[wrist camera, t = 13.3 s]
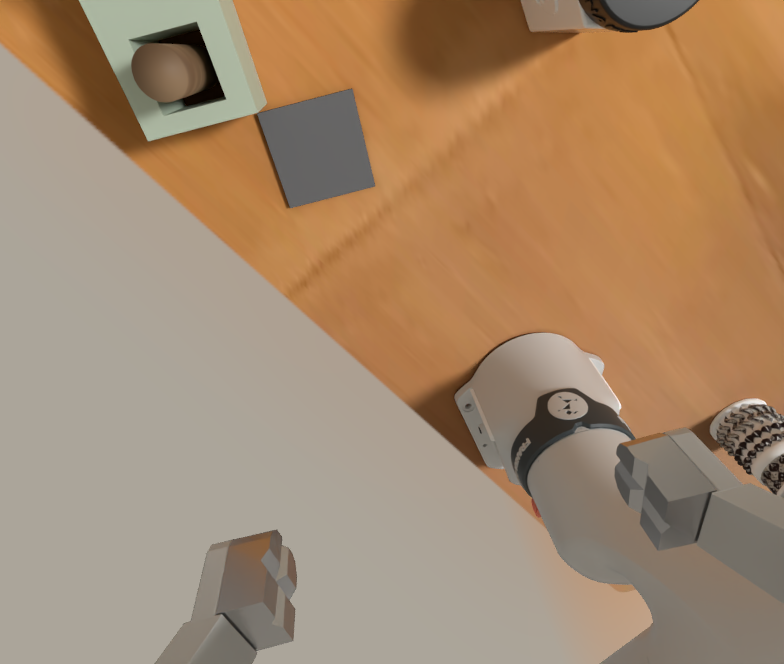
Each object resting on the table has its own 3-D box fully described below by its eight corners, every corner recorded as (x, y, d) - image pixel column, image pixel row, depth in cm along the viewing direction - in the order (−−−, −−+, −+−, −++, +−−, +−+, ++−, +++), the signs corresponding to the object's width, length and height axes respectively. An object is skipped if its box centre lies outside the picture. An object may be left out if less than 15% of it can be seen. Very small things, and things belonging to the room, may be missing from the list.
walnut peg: (226, 84, 35) (195, 95, 27) (190, 94, 35) (148, 108, 27) (210, 40, 34) (171, 37, 25) (171, 50, 34) (120, 50, 25)
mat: (374, 185, 41) (375, 186, 41) (290, 206, 41) (290, 208, 41) (352, 88, 37) (352, 88, 36) (257, 113, 37) (256, 113, 36)
